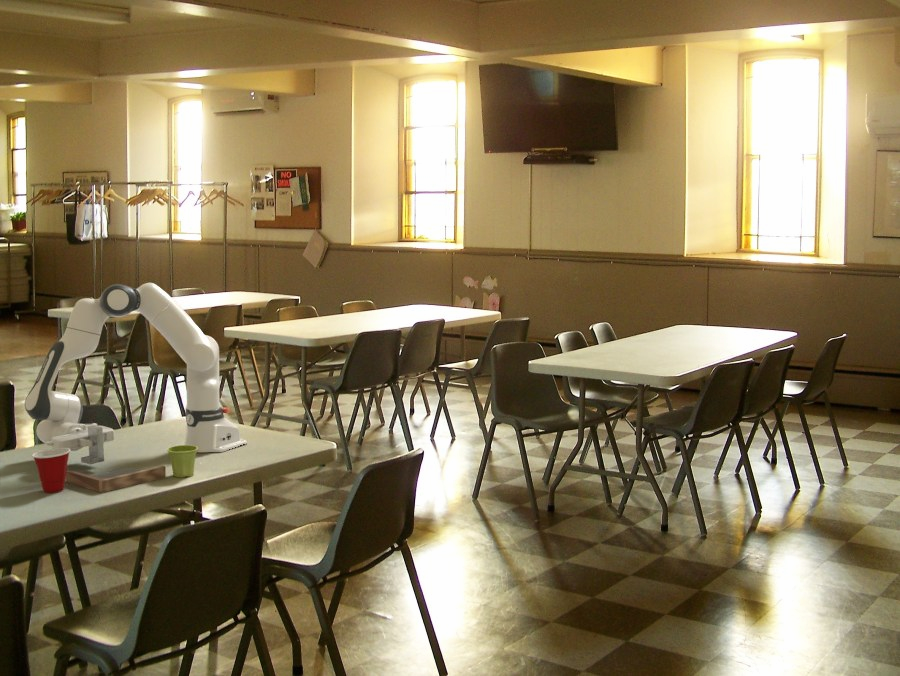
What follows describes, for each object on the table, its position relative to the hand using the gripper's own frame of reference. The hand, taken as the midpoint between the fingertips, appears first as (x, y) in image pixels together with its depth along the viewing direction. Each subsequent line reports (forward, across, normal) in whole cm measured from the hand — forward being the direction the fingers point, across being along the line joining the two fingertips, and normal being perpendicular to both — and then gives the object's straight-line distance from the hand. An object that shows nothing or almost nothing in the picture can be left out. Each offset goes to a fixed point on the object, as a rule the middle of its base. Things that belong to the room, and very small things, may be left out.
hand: (97, 442), depth 343 cm
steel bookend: (-1, -2, +6) cm, 6 cm away
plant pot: (+26, +13, +10) cm, 30 cm away
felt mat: (+13, -3, +9) cm, 16 cm away
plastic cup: (+10, -22, +9) cm, 26 cm away
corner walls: (+14, -3, +9) cm, 17 cm away
